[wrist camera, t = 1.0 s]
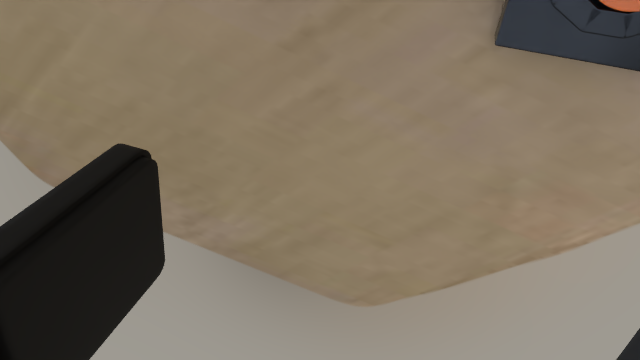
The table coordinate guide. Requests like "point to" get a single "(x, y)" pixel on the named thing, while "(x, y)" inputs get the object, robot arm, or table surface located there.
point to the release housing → (572, 31)
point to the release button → (623, 5)
